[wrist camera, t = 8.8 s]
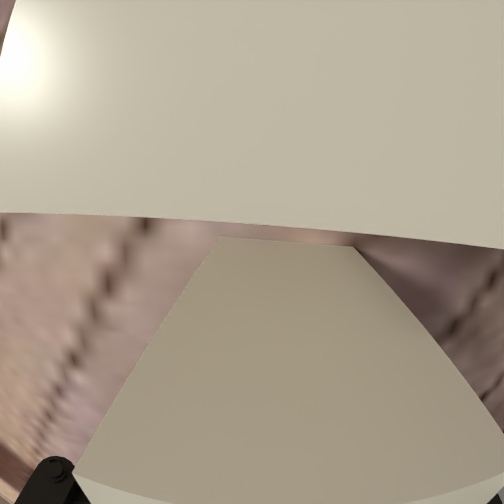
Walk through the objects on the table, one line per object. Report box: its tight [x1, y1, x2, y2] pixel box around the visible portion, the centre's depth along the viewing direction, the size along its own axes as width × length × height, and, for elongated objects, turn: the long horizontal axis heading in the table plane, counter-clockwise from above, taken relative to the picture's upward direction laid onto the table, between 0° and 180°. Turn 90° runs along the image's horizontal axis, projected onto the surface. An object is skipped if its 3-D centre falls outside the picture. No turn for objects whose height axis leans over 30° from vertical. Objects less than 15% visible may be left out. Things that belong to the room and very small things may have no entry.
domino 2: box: [72, 236, 504, 504], centre depth 7 cm, size 2×5×10 cm, turn 86°
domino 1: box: [0, 0, 504, 249], centre depth 6 cm, size 2×5×10 cm, turn 86°
